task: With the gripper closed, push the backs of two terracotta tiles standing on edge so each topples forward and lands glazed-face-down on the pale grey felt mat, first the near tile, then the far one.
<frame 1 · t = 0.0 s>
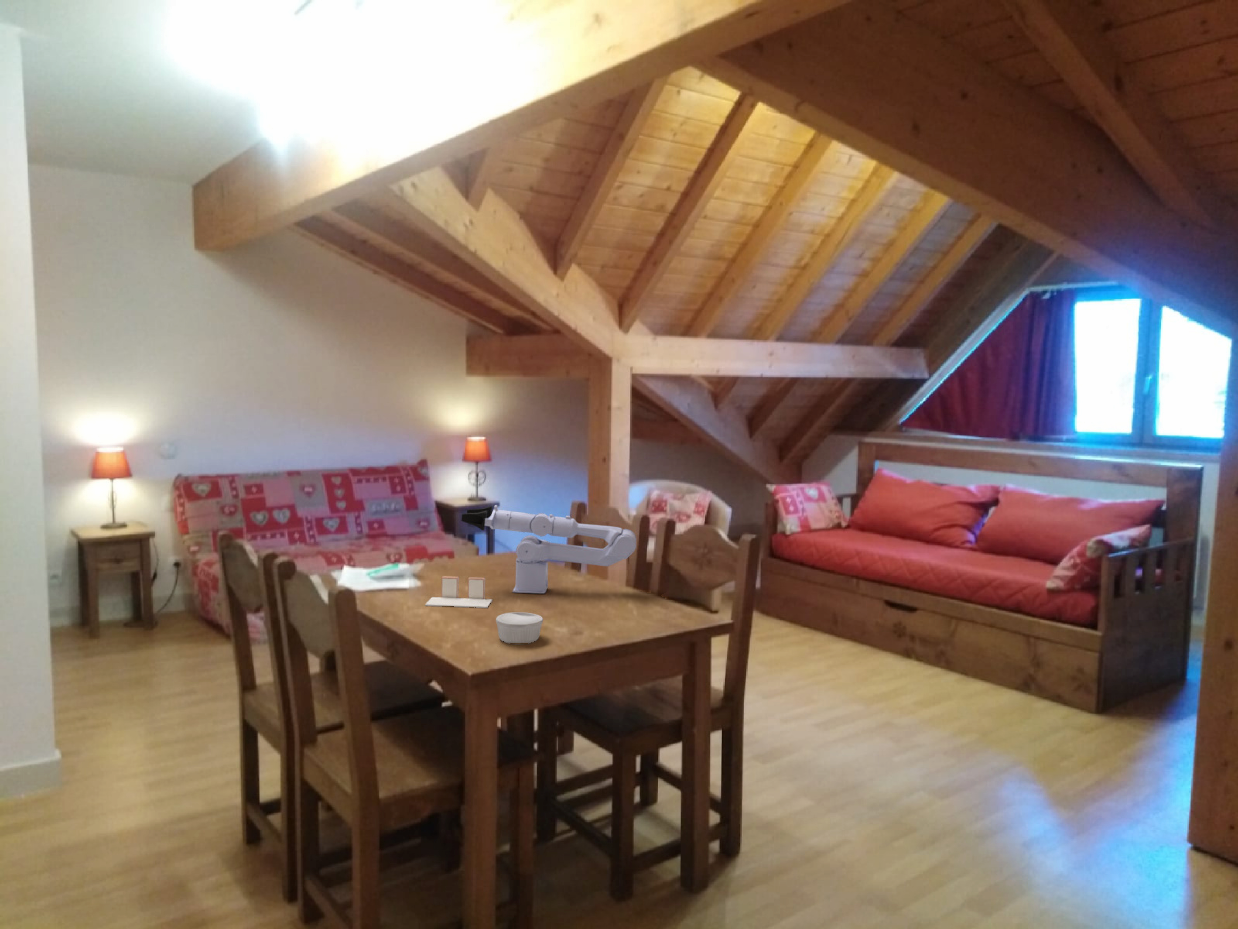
hand: (464, 515, 260), 22 cm above the table, tool horizontal, fingers open, 7 cm apart
far tile: (449, 598, 251), on the table
felt mat: (459, 603, 245), on the table
ramekin: (519, 640, 214), on the table
near tile: (476, 599, 250), on the table
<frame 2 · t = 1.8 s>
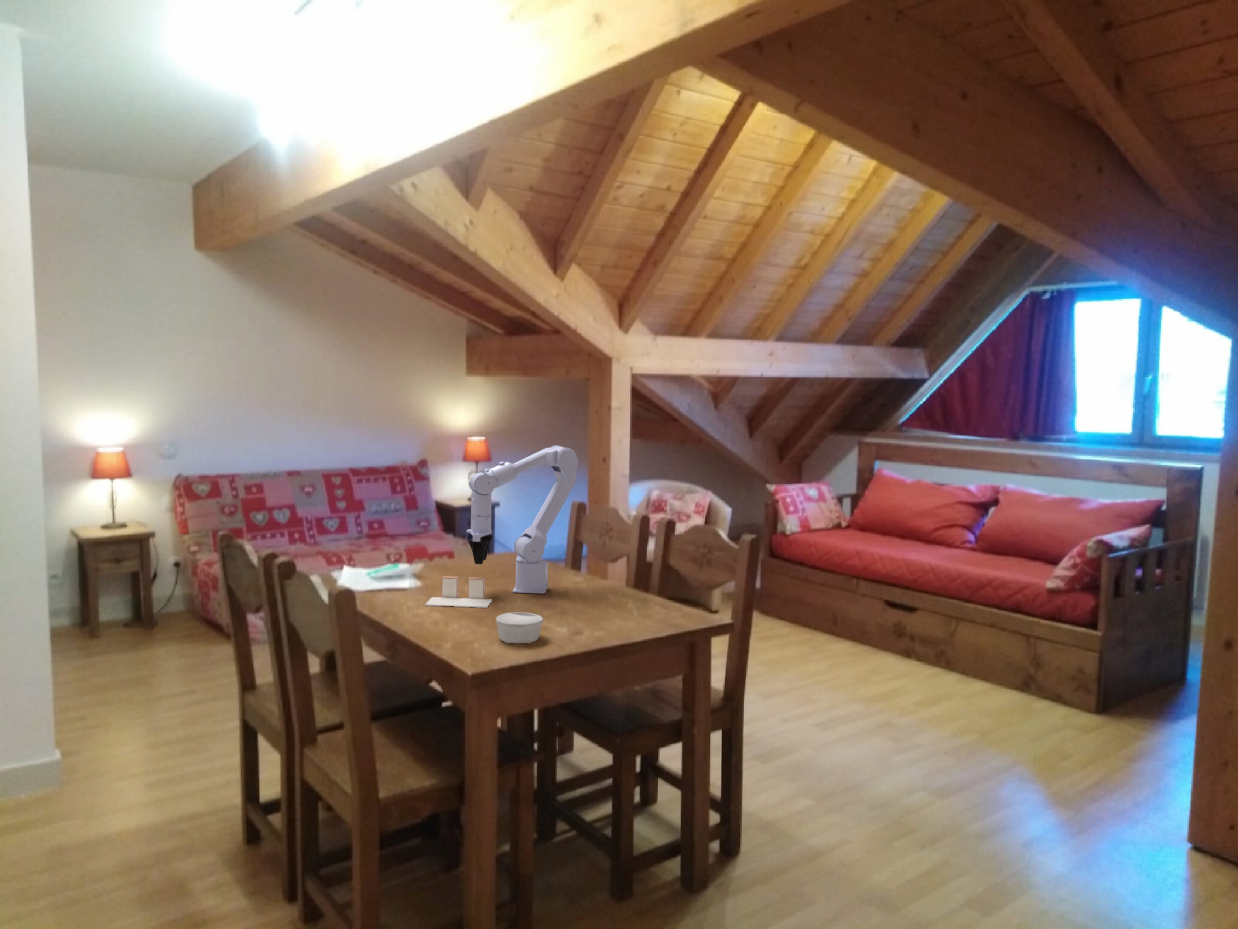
hand: (480, 561, 255), 9 cm above the table, tool pointing down, fingers open, 5 cm apart
nothing on the table moved.
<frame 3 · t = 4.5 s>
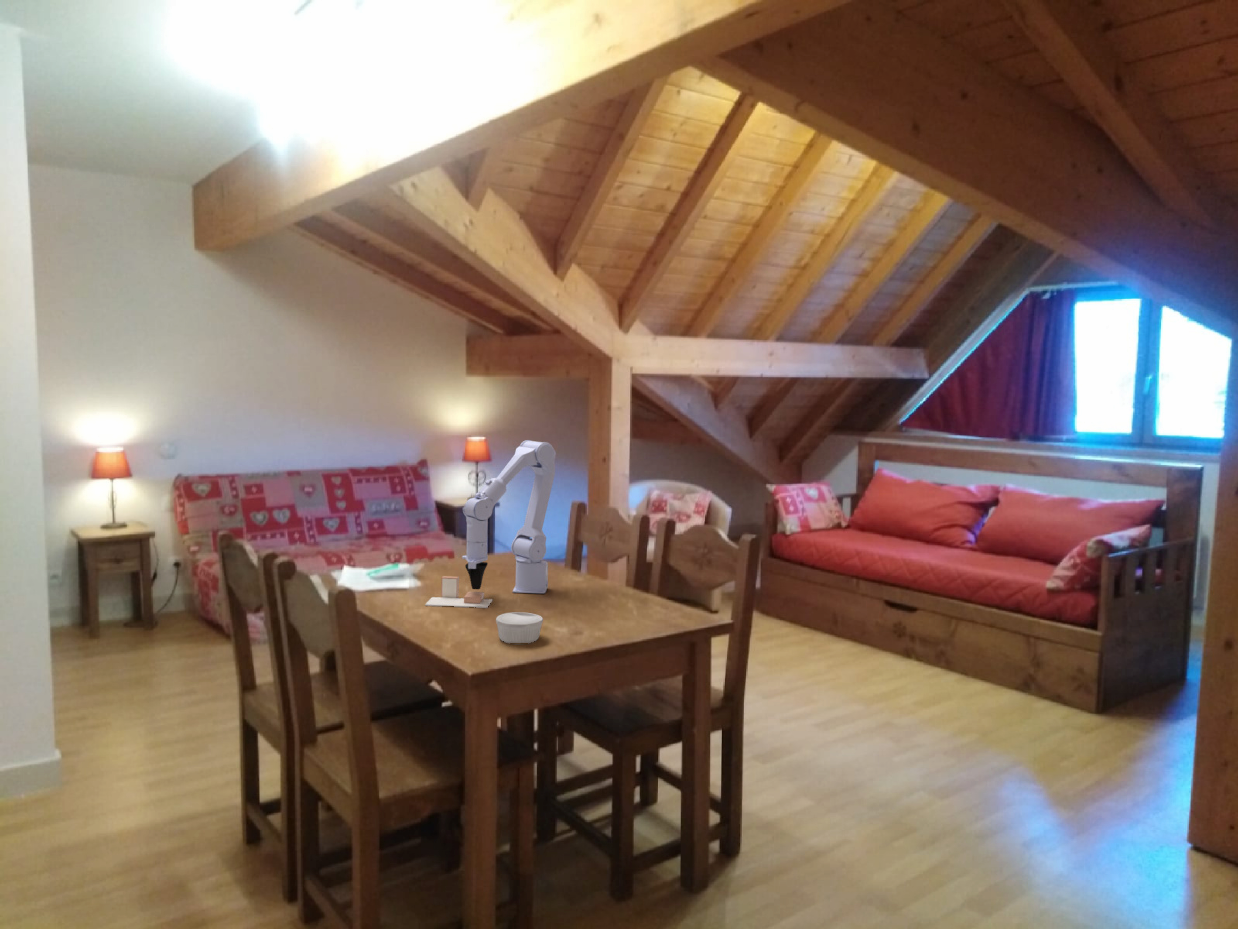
hand: (476, 588, 250), 3 cm above the table, tool pointing down, fingers closed
near tile: (476, 594, 250), point 1 cm above the table, tilted 90°, touching felt mat
everything else where it was.
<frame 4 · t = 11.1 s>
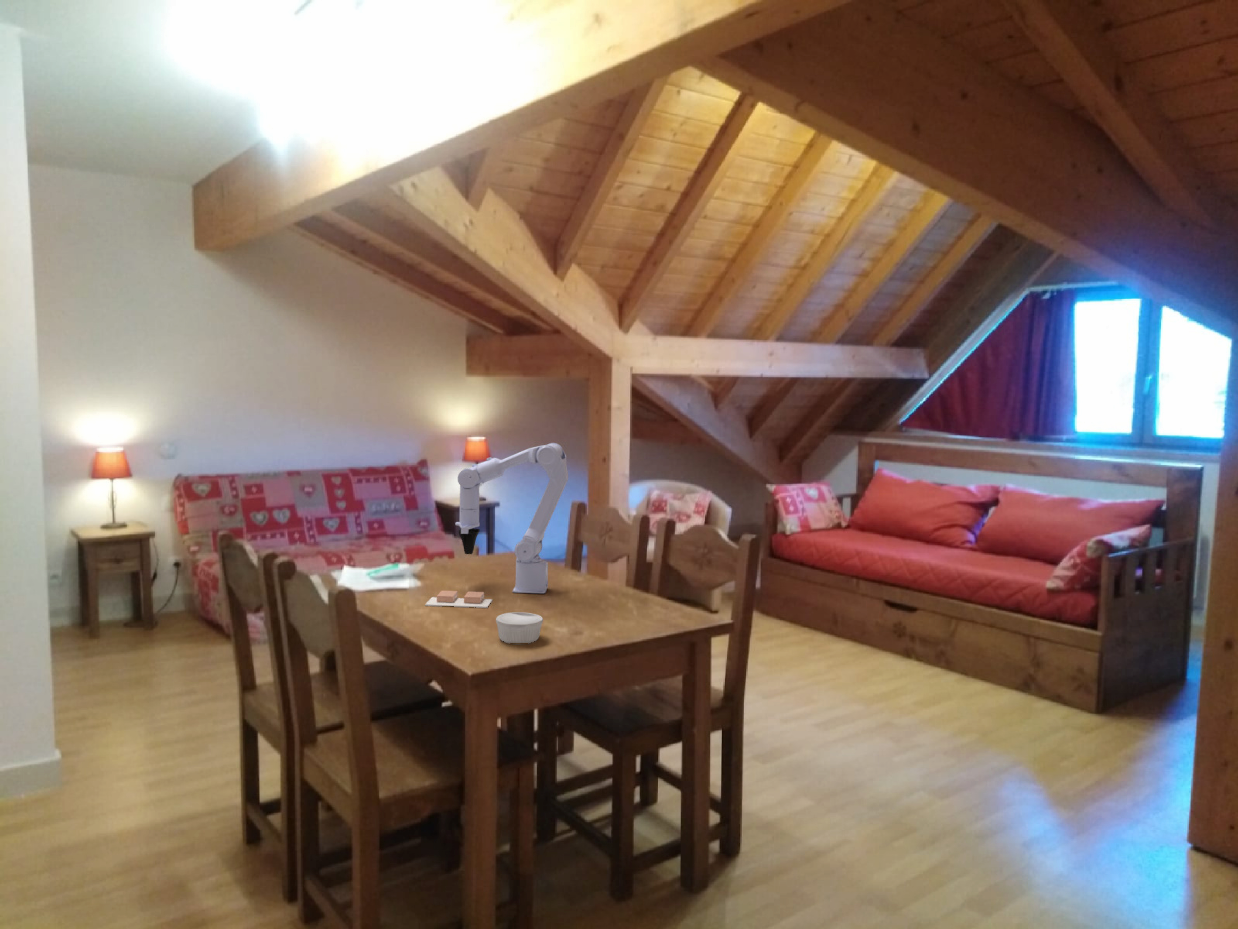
hand: (468, 553, 263), 10 cm above the table, tool pointing down, fingers closed
far tile: (449, 593, 250), point 1 cm above the table, tilted 90°, touching felt mat
everything else where it was.
at the end: near tile tilted 90°; far tile tilted 90°; near tile inside the target area (3.1 cm from its centre), point 1.3 cm above the table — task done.
